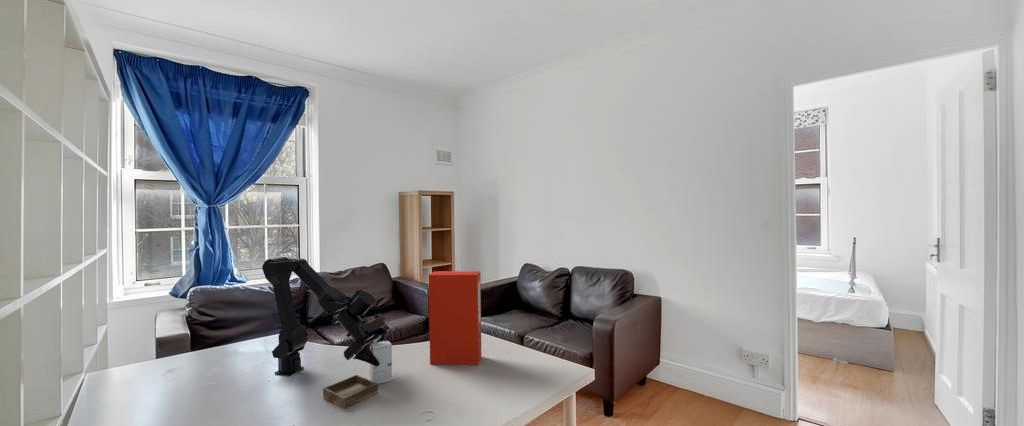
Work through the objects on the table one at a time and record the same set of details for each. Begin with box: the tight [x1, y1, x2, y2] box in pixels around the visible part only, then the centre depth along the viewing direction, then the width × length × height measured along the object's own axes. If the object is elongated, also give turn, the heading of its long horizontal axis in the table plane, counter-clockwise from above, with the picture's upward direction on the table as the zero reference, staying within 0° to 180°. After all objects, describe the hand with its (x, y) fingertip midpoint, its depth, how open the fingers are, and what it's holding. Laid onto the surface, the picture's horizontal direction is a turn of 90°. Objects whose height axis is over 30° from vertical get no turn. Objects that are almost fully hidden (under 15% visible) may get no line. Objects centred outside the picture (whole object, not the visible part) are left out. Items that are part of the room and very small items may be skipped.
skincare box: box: [369, 340, 393, 385], centre depth 127 cm, size 6×4×12 cm
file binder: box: [428, 270, 482, 366], centre depth 142 cm, size 8×17×32 cm, turn 86°
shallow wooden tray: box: [322, 374, 379, 410], centre depth 117 cm, size 11×11×3 cm
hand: (384, 360), depth 127 cm, fingers closed on skincare box, 7 cm apart
